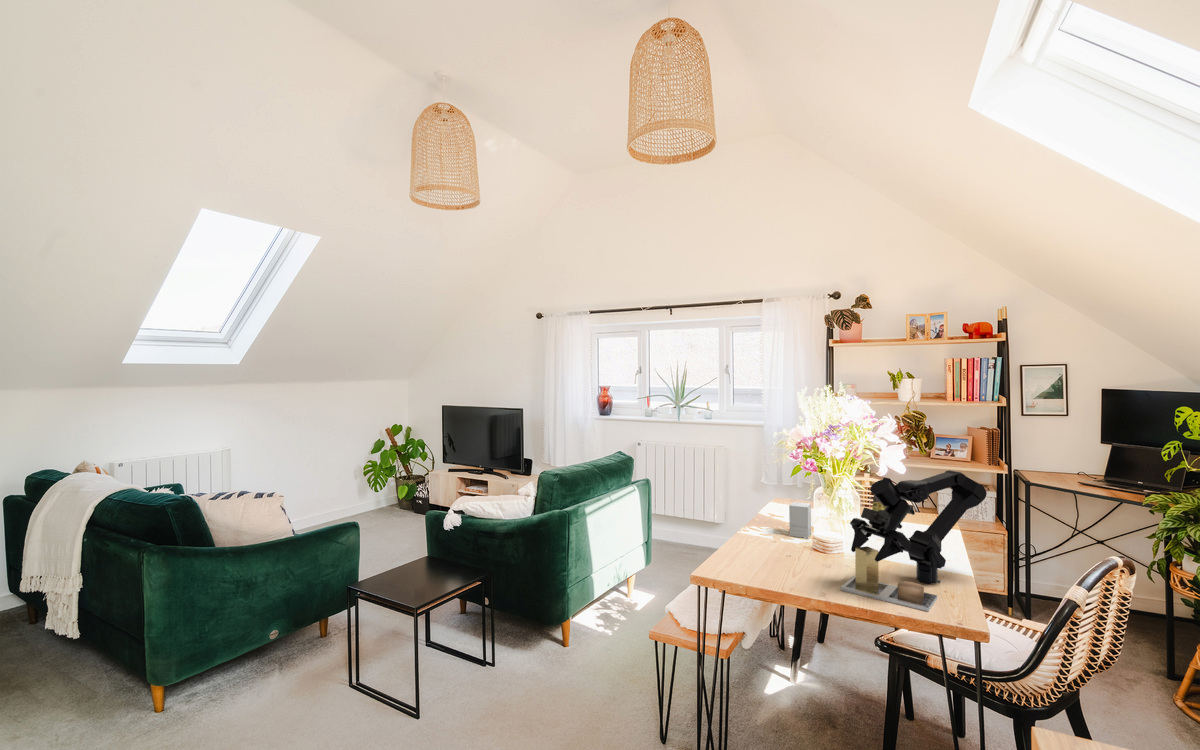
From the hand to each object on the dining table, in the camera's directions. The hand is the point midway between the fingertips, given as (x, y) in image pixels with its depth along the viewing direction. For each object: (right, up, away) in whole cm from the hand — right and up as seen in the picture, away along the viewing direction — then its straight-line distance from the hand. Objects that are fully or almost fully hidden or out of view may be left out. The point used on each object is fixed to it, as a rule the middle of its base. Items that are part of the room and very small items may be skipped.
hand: (863, 555), depth 169 cm
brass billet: (+1, -10, 0) cm, 10 cm away
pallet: (+6, -11, -3) cm, 13 cm away
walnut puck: (+10, -10, -7) cm, 16 cm away
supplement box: (+2, -11, +60) cm, 61 cm away
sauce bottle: (+39, -11, +68) cm, 79 cm away
